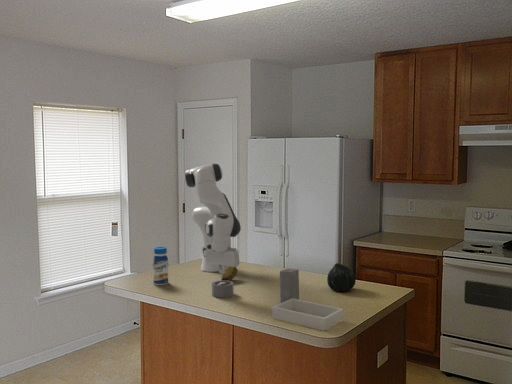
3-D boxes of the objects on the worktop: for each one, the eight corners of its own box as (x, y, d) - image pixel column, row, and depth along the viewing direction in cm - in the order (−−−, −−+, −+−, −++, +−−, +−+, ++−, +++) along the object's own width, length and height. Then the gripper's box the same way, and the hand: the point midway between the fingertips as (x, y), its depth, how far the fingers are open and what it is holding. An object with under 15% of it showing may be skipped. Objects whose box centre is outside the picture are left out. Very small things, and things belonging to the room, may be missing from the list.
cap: (222, 290, 254) (222, 280, 254) (231, 292, 250) (230, 282, 250) (214, 293, 249) (214, 283, 249) (223, 295, 246) (223, 285, 245)
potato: (215, 282, 274) (215, 268, 274) (231, 278, 284) (231, 264, 283) (225, 285, 269) (225, 270, 268) (241, 280, 278) (241, 266, 278)
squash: (365, 280, 256) (348, 256, 262) (349, 287, 245) (332, 262, 251) (348, 294, 264) (332, 270, 270) (332, 301, 254) (316, 276, 259)
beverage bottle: (170, 281, 276) (170, 246, 275) (166, 285, 268) (165, 249, 266) (155, 281, 277) (155, 246, 275) (151, 285, 268) (150, 249, 267)
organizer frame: (292, 308, 227) (292, 298, 226) (343, 320, 211) (343, 308, 210) (272, 318, 214) (272, 306, 214) (324, 330, 198) (324, 318, 198)
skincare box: (291, 305, 232) (292, 272, 230) (278, 303, 235) (278, 270, 234) (300, 301, 239) (300, 269, 238) (287, 298, 243) (287, 267, 241)
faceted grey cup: (221, 290, 258) (221, 279, 257) (238, 294, 251) (237, 282, 250) (207, 295, 249) (207, 283, 248) (223, 299, 242) (223, 287, 242)
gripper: (242, 247, 244) (242, 275, 245) (211, 243, 257) (211, 269, 258) (233, 249, 239) (234, 277, 240) (203, 245, 252) (203, 271, 253)
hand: (222, 273), depth 249 cm, fingers closed
